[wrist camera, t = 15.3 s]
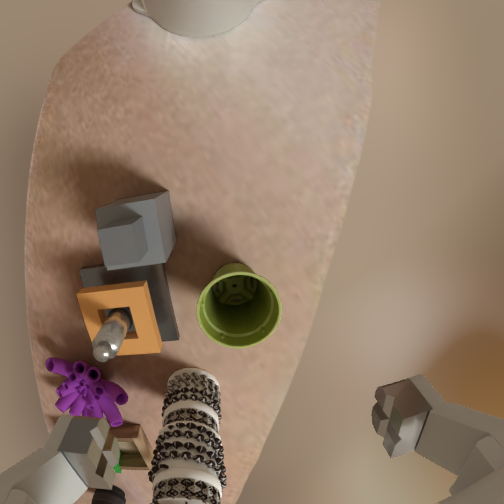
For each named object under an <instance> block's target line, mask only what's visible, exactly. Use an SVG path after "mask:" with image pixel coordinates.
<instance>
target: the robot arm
mask: <svg viewBox="0 0 504 504" xmlns="http://www.w3.org/2000/svg"><path fill="white" fill-rule="evenodd" d="M261 1H263V0H133V1H132V7H133V10H134V11H135V12H137V13H140V14H143V15H146V16H150V17H151V18H152V19H154V20H155V21H156V22H157V23H158V24H159V25H160V26H161V27H163V28H164V29H166V30H168V31H170V32H172V33H174V34H177V35H181V36H187V37H207V36H213V35H217V34H220V33H223V32H226V31H228V30H230V29H232V28H234V27H235V26H237V25H239V24H240V23H241V22H242V21H244V20H245V19H246V18H247V16H248V15H249V14H250V13H251V11H252V10H253V8H254V7H255V6H256V5H257V4H258V3H259V2H261ZM375 398H376V400H377V403H376V404H375V405H374V406H373V409H372V423H373V425H374V428H375V431H376V432H377V434H378V435H380V436H383V437H384V441H383V445H384V447H385V449H386V451H387V452H388V454H389V456H390V458H393V457H396V456H399V455H403V454H405V453H408V452H411V451H414V450H415V452H417V453H418V454H420V455H422V456H423V457H425V458H427V459H429V460H431V461H432V462H434V463H436V464H437V465H439V466H441V467H443V468H445V469H447V470H448V471H450V472H452V473H454V474H456V475H457V477H456V479H455V480H454V482H453V484H452V485H451V487H450V489H449V491H450V493H451V495H452V496H450V497H448V498H446V499H444V500H442V501H440V502H438V503H436V504H504V419H501V418H498V417H495V416H491V415H488V414H485V413H482V412H479V411H476V410H473V409H470V408H467V407H464V406H461V405H458V404H455V403H453V402H450V403H447V402H446V401H445V400H444V399H443V397H441V395H440V394H439V393H438V392H437V391H436V389H435V388H434V387H433V386H432V385H431V384H430V382H429V381H428V380H427V379H426V378H425V377H424V376H423V375H421V374H419V375H416V376H413V377H410V378H407V379H404V380H400V381H397V382H394V383H391V384H387V385H384V386H380V387H378V388H377V390H376V392H375ZM109 428H110V426H109V424H108V422H107V420H106V419H104V418H97V417H85V416H72V415H64V414H63V415H61V416H59V418H58V420H57V422H56V424H55V426H54V428H53V430H52V432H51V434H50V436H49V438H48V440H47V442H46V444H45V447H44V448H43V449H41V448H39V449H38V450H37V451H35V452H33V453H32V454H31V455H29V456H28V457H26V458H24V459H23V460H21V461H20V462H18V463H17V464H15V465H14V466H12V467H10V468H9V469H7V470H6V471H4V472H3V473H1V474H0V504H73V503H74V502H75V501H76V500H77V499H78V498H79V497H80V496H81V495H82V494H83V493H84V492H85V491H86V490H87V489H88V488H87V487H90V488H99V489H109V490H112V486H113V482H114V478H115V472H114V470H113V469H112V468H113V467H114V466H115V465H117V464H118V461H119V457H120V452H119V445H118V441H117V439H116V437H115V436H114V435H113V434H111V433H110V432H109Z"/></svg>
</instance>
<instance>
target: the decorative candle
mask: <svg viewBox="0 0 504 504" xmlns="http://www.w3.org/2000/svg"><path fill="white" fill-rule="evenodd" d="M166 389H167V390H168V392H165V396H167V399H166V398H165V399H164V406H163V408H162V411H163V413H162V417H163V421H162V424H163V428H162V429H161V430H160V431H159V435H158V439H157V440H156V445H157V447H156V450H154V451H153V455H154V456H153V460H152V461H151V465H152V468H151V471H149V472H148V476H149V480H150V481H151V482H152V483H153V488H152V490H153V492H154V493H153V501H152V503H150V504H221V500H220V498H221V497H222V492H223V490H222V489H223V488H225V487H226V482H225V480H226V475H225V474H224V472H225V471H226V468H225V466H223V464H224V462H223V458H224V455H223V453H221V452H223V450H224V449H223V446H222V443H221V437H220V435H219V434H218V430H219V424H220V421H219V420H220V419H221V414H220V413H219V412H220V411H221V408H220V404H221V399H220V397H221V394H220V388H219V382H218V381H217V380H216V378H215V377H214V375H212V374H210V373H209V372H207V371H206V370H203V369H199V368H195V367H193V368H183V369H180V370H178V371H175V372H174V373H173V374H172V375H171V376H170V377H169V380H168V383H167V386H166ZM158 452H159V453H160V454H158ZM156 463H157V464H156ZM154 474H156V475H154ZM153 475H154V476H153ZM218 475H219V477H218ZM220 480H221V481H220Z"/></svg>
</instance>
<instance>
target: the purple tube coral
mask: <svg viewBox="0 0 504 504" xmlns="http://www.w3.org/2000/svg"><path fill="white" fill-rule="evenodd" d="M46 367H47V369H48V371H50V372H54V373H58V374H61V375H63V376H66V377H68V379H66V380H65V381H64V382H63V383H62V385H60V386H59V387H58V388H57V389H56V392H57V394H58V395H59V396H60V398H59V399H58V401H57V402H56V403H55V406H56V407H57V408H58V409H59V410H60V411H61V412H63V413H64V412H65V411H67V410H68V409H69V408H70V407H71V408H70V411H69V414H70V415H72V416H80V415H81V413H82V416H85V417H97V418H103V412H104V414H105V416H106V417H107V419H108V421H109V423H110V425H111V426H113V427H116V426H120V425H121V424H123V420H122V417H121V414H120V412H119V410H118V408H117V406H116V404H115V403H114V402H116V403H117V404H119V405H123V404H125V403H126V402H127V401H128V395H127V393H126V392H125V391H124V389H122V388H121V387H120V386H119V385H118V384H116V383H114V382H111V381H108V380H105V379H101V378H100V377H101V372H100V370H99V369H98V368H97V367H94V366H92V367H90V366H89V365H88V363H86V362H84V361H77V362H75V363H74V364H72V363H70V362H69V361H66V360H64V359H61V358H48V359H47V361H46Z"/></svg>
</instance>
